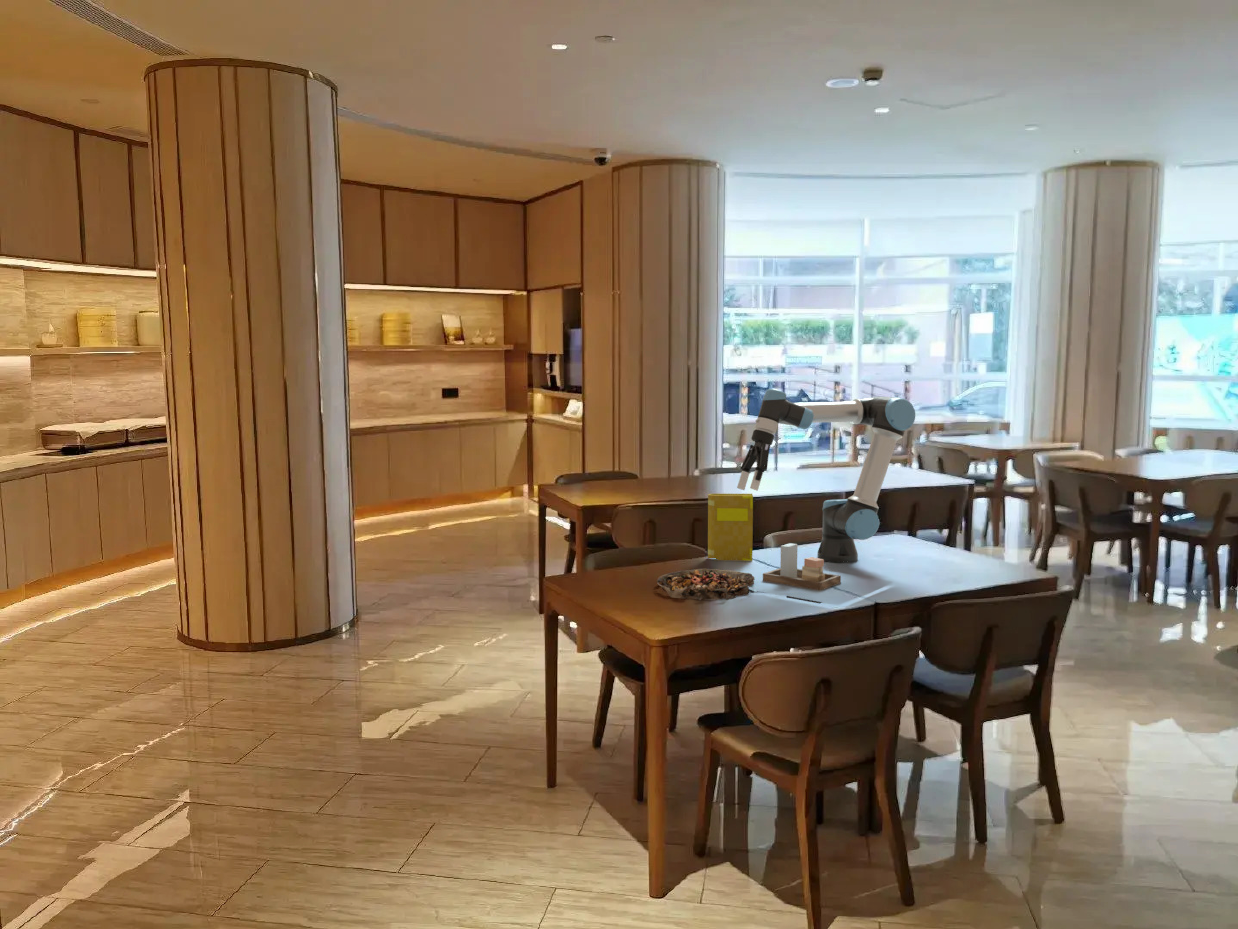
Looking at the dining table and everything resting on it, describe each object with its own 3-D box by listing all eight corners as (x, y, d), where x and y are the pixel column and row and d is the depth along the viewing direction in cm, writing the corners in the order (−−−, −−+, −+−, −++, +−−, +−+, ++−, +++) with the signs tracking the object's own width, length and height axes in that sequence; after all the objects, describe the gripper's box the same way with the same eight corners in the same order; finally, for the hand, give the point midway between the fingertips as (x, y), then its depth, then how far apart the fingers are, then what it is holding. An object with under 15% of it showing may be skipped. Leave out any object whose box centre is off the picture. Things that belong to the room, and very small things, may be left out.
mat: (805, 590, 319) (805, 588, 319) (837, 596, 311) (838, 594, 311) (786, 597, 310) (786, 595, 310) (819, 603, 302) (819, 601, 302)
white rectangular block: (789, 577, 333) (789, 543, 332) (796, 578, 331) (797, 544, 330) (780, 580, 329) (780, 545, 327) (787, 581, 327) (788, 547, 325)
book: (751, 557, 372) (752, 493, 369) (752, 561, 366) (752, 496, 363) (707, 556, 374) (708, 493, 371) (707, 560, 367) (708, 495, 364)
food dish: (697, 610, 300) (696, 586, 299) (637, 591, 327) (636, 569, 326) (780, 591, 319) (779, 568, 318) (717, 574, 346) (716, 553, 346)
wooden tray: (784, 576, 339) (784, 566, 339) (840, 586, 325) (840, 575, 324) (762, 583, 329) (762, 573, 328) (819, 593, 314) (820, 583, 314)
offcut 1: (812, 564, 326) (812, 557, 326) (823, 566, 322) (823, 559, 322) (804, 565, 324) (804, 558, 323) (816, 568, 320) (816, 561, 320)
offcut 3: (809, 580, 327) (809, 572, 327) (824, 583, 324) (824, 574, 323) (801, 583, 324) (801, 574, 323) (817, 586, 320) (817, 577, 319)
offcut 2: (807, 572, 327) (807, 564, 326) (822, 574, 324) (822, 565, 323) (802, 575, 323) (802, 566, 323) (817, 577, 320) (818, 568, 320)
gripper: (742, 430, 350) (726, 485, 348) (767, 426, 326) (749, 486, 324) (761, 437, 352) (744, 492, 350) (787, 433, 327) (769, 492, 326)
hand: (747, 489), depth 337 cm, fingers open, 13 cm apart
